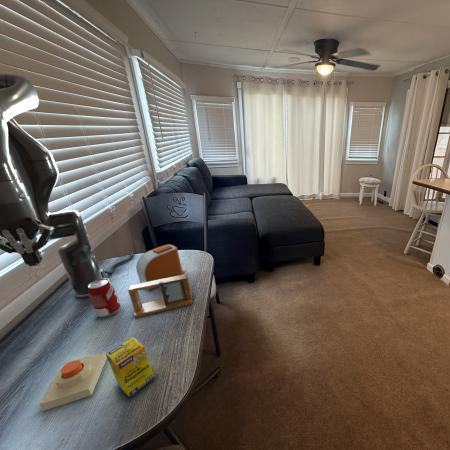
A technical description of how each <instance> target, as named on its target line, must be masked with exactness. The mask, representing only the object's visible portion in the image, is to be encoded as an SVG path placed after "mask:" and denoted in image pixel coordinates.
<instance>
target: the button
mask: <svg viewBox="0 0 450 450" xmlns="http://www.w3.org/2000/svg"><path fill="white" fill-rule="evenodd" d="M68 362H69V363H68ZM68 362H67V363H68V364H66V365H65V366H64V367H63V368H62V369H61V368H60V369H61V373H62V375H63V377H64V378H70V377H73V376H74V375H76V374H78V373H79V372H80V371H81V370H82V368H83V366H82V364H81V362H80V361H79V360H78V359H75V360H72V361H68Z"/></svg>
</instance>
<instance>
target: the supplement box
mask: <svg viewBox="0 0 450 450" xmlns="http://www.w3.org/2000/svg"><path fill="white" fill-rule="evenodd" d="M105 354H106V357H107V359H106V360H107V361H108V364H109V366H110V368H111V372H112V373H113V376H114V378H115V380H116V383H117V385H118V387H119V388H120V389H121V390H122V391H123V392H124V394H125V395H126V396H127V397H128V398H129V399H131V398H132V397H134V396H135V395H136V394H137V393H138V392H139V391H140V390H142V389H143V388H144V387H146V386H147V385H148V384H150V383H151V382H152V381H153V380H155V375H154V371H153V369H152V366H151V362H150V360H149V357H148V354H147V351H146V348H145V346H144V345H143V344H142V343H141V342H140V341H138V339H136V338H135V337H133V336H131V337H130V338H128V339H127V340H126V341H124V342H123V343H121V344H119V345H118V346H116V347H114V348H113V349H111V350H109V351H108V352H105Z"/></svg>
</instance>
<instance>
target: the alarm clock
mask: <svg viewBox="0 0 450 450" xmlns="http://www.w3.org/2000/svg"><path fill="white" fill-rule="evenodd" d="M135 267H136V268H135V269H136V273H137V276H138V280H139V283H144V282H149V281H154V280H159V279H164V278H169V277H174V276H179V275H184V274H183V272H184V271H183V267H182V264H181V259H180V255H179V251H178V247H177V246H175V245H173V244H170V243H169V244H165V245H161V246H158V247H156V248H153V249H151V250H148V251H146V252H144V253H143V254H141V255H140V257H138V260H137V262H136V265H135ZM155 288H156V289H157V287H153V288H148V289H147V290H148V291H151V290H154V289H155Z"/></svg>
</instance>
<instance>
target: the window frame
mask: <svg viewBox="0 0 450 450" xmlns="http://www.w3.org/2000/svg"><path fill="white" fill-rule="evenodd" d="M161 281H163V283H164V285H167V284H172V283H177V282H181V281H182V283H183V287H184V292H185V296H186V298H185V299H180V300H176V301H172V302H169V306H165V303H164V299H163V298H160V299H155V300H152V301H147V302H143V303H142V300H141V298H140V293H139V291H143V290H148V288H153V287H156V288H157V287H160V285H159V282H161ZM153 289H154V288H153ZM127 292H128V294H129V298H130V301H131V304H132V307H133V310H134V313H133V317H134V318H139V317H144V316H146V315H151V314H155V313H160V312H164V311H168V310H171V309H175V308H180V307H184V306H188V305H189V306H190V305H192V304H193V292H192V289H191V284H190V281H189V276H188V273H185V274H182V275H179V276H174V277H169V278H164V279H159V280H154V281H149V282H144V283H140V282H139V283H136V284H131V285H129V287H128V289H127Z"/></svg>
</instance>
